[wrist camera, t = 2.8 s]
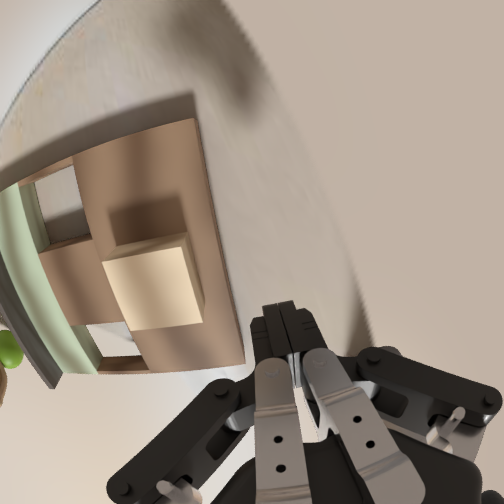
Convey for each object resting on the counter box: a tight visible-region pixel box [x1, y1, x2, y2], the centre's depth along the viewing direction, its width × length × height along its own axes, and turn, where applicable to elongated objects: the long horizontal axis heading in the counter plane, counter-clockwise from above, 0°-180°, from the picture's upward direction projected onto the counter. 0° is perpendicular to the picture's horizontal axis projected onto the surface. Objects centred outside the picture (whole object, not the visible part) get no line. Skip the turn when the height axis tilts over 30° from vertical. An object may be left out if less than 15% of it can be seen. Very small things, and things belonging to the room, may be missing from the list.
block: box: [102, 232, 205, 331], centre depth 19 cm, size 6×6×3 cm
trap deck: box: [0, 118, 246, 389], centre depth 20 cm, size 24×22×6 cm
